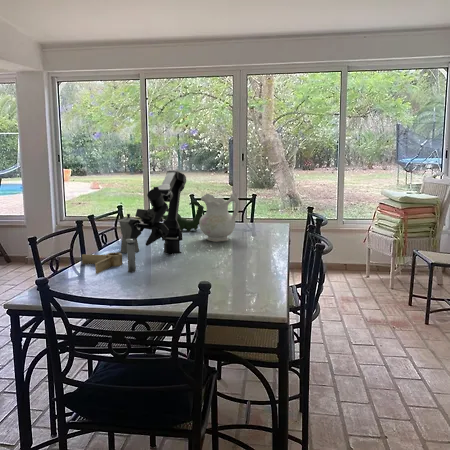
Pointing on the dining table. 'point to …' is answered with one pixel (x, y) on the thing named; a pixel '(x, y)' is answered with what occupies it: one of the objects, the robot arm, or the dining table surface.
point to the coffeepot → (126, 233)
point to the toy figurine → (188, 223)
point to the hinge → (103, 260)
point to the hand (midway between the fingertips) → (138, 243)
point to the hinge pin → (131, 254)
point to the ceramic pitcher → (218, 217)
